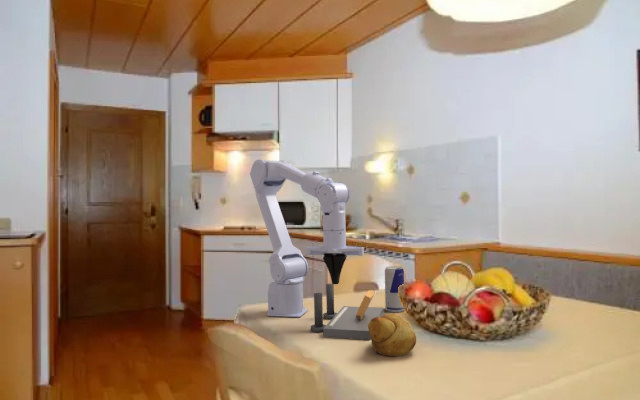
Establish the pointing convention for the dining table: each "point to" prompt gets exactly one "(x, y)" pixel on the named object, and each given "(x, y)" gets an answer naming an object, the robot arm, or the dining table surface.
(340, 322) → the panel
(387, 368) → the dining table surface
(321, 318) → the post
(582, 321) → the dining table surface
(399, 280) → the energy drink
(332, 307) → the cord post far
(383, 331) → the bread roll
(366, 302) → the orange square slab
